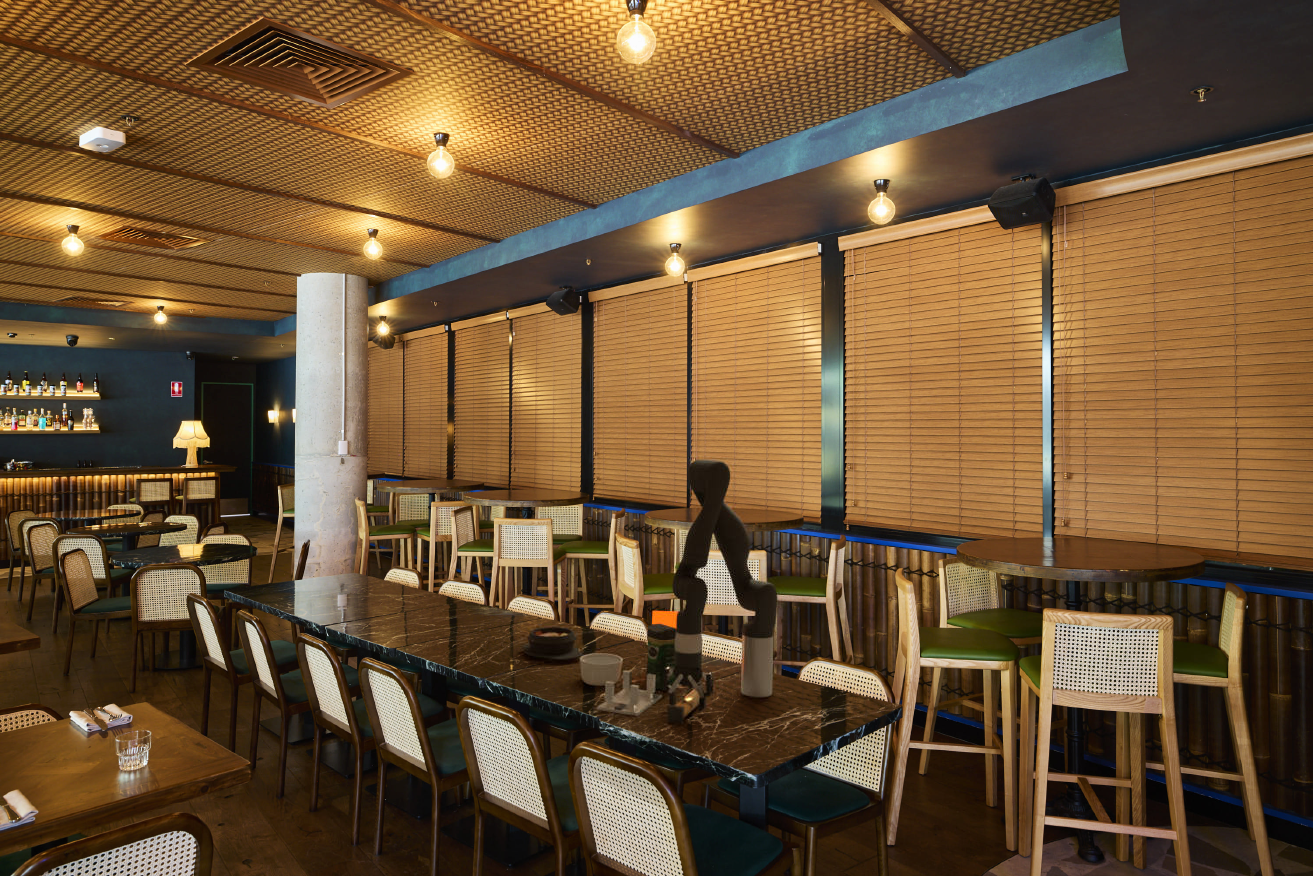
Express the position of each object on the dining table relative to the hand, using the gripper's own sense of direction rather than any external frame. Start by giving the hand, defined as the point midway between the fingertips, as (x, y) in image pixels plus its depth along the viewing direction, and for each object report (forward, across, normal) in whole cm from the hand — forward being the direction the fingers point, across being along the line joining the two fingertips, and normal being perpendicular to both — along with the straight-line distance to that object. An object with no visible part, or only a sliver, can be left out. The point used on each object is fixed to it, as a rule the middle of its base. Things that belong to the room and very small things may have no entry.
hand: (687, 708), depth 216 cm
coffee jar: (+1, +15, -19) cm, 24 cm away
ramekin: (+1, +34, -16) cm, 38 cm away
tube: (+1, 0, 0) cm, 1 cm away
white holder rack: (+1, +17, 0) cm, 17 cm away
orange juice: (+1, +19, -32) cm, 37 cm away
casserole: (+1, +62, -35) cm, 71 cm away
